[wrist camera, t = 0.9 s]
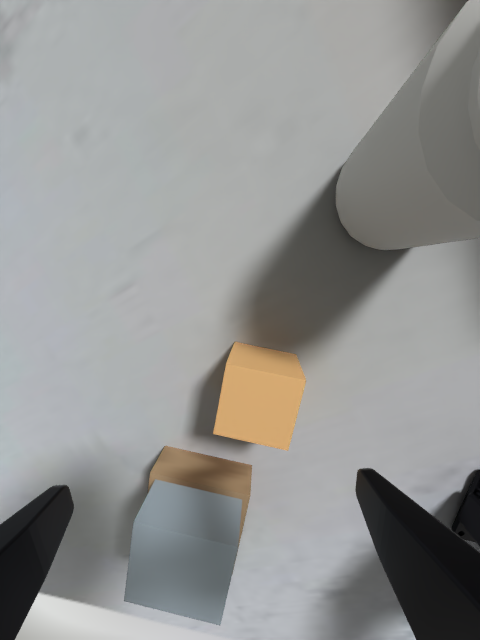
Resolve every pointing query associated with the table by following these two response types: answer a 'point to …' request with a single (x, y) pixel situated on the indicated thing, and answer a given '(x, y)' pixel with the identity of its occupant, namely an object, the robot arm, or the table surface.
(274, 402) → the ochre cube
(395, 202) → the can
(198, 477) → the walnut base block
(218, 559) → the slate block
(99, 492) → the table surface
